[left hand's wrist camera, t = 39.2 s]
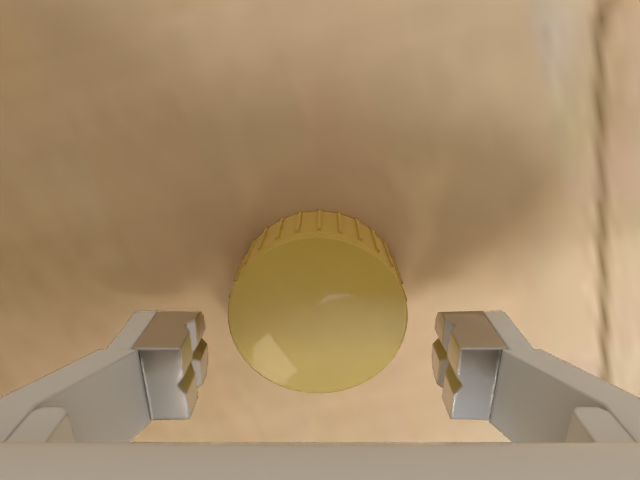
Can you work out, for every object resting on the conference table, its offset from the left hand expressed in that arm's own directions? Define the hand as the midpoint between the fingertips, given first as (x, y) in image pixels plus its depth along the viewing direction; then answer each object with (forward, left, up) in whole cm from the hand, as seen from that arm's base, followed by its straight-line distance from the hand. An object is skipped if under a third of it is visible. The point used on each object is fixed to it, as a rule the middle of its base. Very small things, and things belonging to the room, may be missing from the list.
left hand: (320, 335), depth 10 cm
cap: (0, 0, 0) cm, 1 cm away
